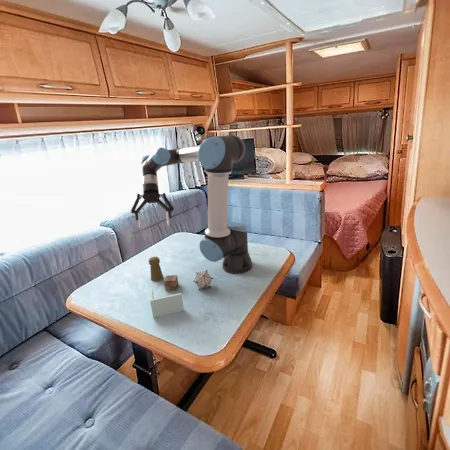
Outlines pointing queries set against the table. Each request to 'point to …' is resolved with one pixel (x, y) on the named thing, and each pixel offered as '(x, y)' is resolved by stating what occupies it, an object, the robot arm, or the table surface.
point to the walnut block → (171, 282)
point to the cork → (155, 269)
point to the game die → (203, 279)
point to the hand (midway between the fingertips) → (154, 225)
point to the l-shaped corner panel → (165, 304)
